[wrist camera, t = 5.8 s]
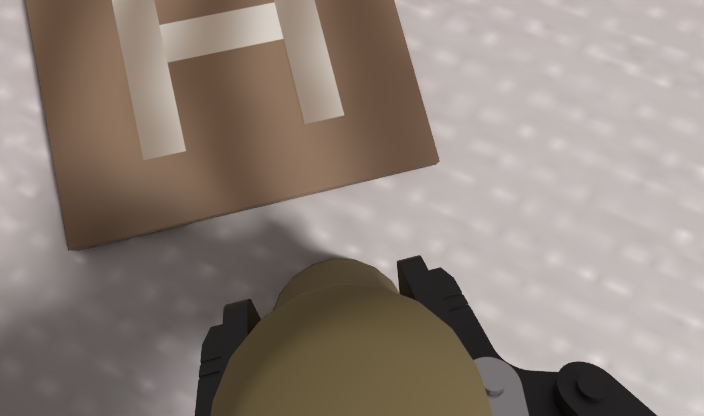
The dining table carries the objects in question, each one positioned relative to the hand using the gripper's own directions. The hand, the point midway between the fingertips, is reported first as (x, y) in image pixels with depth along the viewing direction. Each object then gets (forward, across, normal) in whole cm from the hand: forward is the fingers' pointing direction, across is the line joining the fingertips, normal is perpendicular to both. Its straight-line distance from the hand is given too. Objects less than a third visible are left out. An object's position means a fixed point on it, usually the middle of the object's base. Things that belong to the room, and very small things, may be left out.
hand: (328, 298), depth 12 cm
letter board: (+12, +2, -5) cm, 13 cm away
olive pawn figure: (+2, 0, +5) cm, 5 cm away
